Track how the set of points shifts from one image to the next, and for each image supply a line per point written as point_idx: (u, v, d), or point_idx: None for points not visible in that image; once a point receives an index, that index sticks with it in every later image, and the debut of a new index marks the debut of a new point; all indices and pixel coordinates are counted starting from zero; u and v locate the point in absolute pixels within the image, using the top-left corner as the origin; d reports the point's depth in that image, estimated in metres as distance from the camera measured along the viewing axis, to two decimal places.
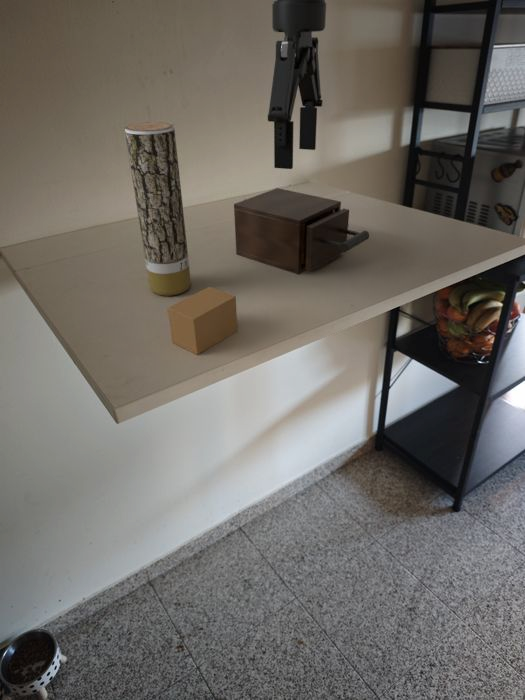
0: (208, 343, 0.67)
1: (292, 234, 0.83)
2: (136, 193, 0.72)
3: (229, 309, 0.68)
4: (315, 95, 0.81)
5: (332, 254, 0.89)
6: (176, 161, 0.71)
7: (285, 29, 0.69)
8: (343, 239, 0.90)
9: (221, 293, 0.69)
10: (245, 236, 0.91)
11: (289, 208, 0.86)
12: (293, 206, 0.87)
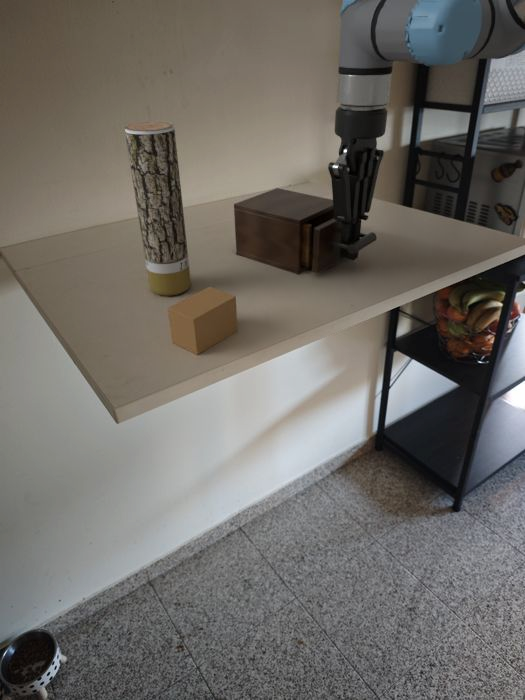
0: (208, 343, 0.67)
1: (292, 234, 0.83)
2: (136, 193, 0.72)
3: (229, 309, 0.68)
4: (363, 205, 0.81)
5: (339, 256, 0.88)
6: (176, 161, 0.71)
7: (341, 136, 0.73)
8: None
9: (221, 293, 0.69)
10: (245, 236, 0.91)
11: (289, 208, 0.86)
12: (293, 206, 0.87)
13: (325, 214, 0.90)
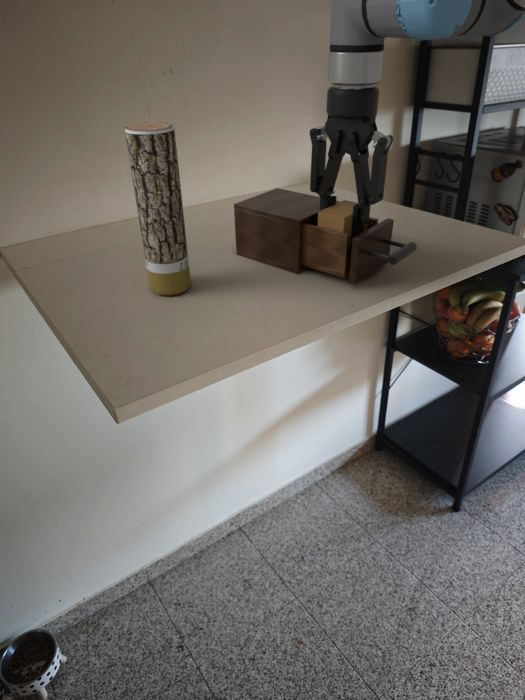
0: (349, 242, 0.82)
1: (292, 234, 0.83)
2: (136, 193, 0.72)
3: None
4: (359, 191, 0.78)
5: (376, 266, 0.84)
6: (176, 161, 0.71)
7: None
8: (386, 250, 0.85)
9: (356, 203, 0.84)
10: (245, 236, 0.91)
11: (289, 208, 0.86)
12: (293, 206, 0.87)
13: None
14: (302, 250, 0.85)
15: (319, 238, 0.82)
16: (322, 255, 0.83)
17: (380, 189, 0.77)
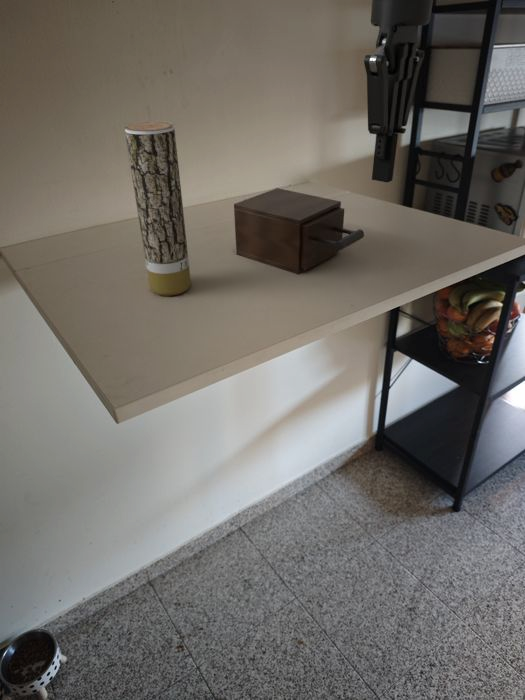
0: None
1: (292, 234, 0.83)
2: (136, 193, 0.72)
3: None
4: (400, 115, 0.71)
5: (328, 253, 0.90)
6: (176, 161, 0.71)
7: (380, 23, 0.63)
8: (338, 237, 0.91)
9: None
10: (245, 236, 0.91)
11: (289, 208, 0.86)
12: (293, 206, 0.87)
13: None
14: None
15: None
16: None
17: None
